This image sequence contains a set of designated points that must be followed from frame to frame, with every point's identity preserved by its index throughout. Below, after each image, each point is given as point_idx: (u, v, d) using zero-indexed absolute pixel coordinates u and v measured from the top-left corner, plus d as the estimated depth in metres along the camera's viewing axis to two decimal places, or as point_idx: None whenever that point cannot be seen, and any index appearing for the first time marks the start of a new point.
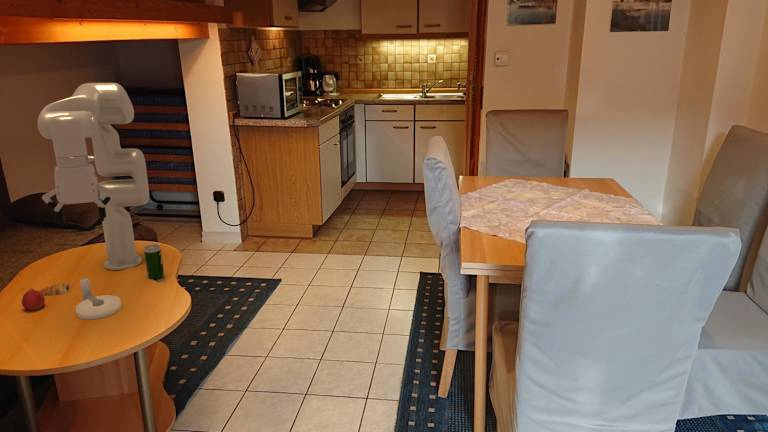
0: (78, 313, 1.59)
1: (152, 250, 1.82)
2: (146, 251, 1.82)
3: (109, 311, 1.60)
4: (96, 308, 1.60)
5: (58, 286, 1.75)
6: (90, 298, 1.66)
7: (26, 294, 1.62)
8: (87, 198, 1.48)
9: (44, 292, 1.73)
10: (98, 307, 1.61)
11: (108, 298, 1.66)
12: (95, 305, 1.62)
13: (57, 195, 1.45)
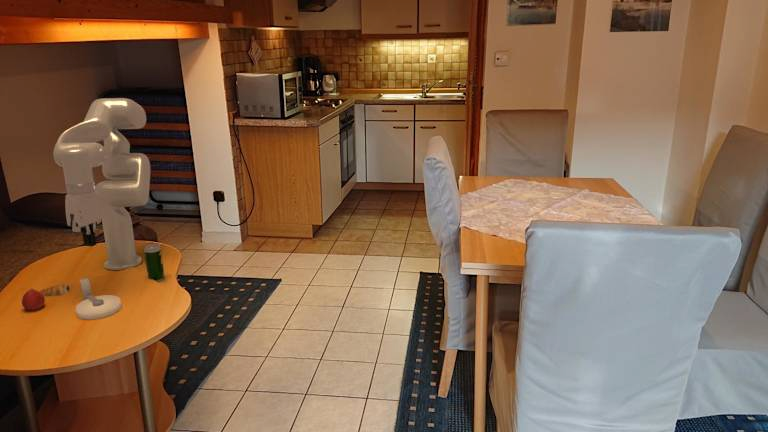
0: (78, 313, 1.59)
1: (152, 250, 1.82)
2: (146, 251, 1.82)
3: (109, 311, 1.60)
4: (96, 308, 1.60)
5: (58, 287, 1.74)
6: (90, 298, 1.66)
7: (26, 294, 1.62)
8: (97, 218, 1.69)
9: (44, 293, 1.72)
10: (98, 307, 1.61)
11: (108, 298, 1.66)
12: (95, 305, 1.62)
13: (79, 219, 1.62)
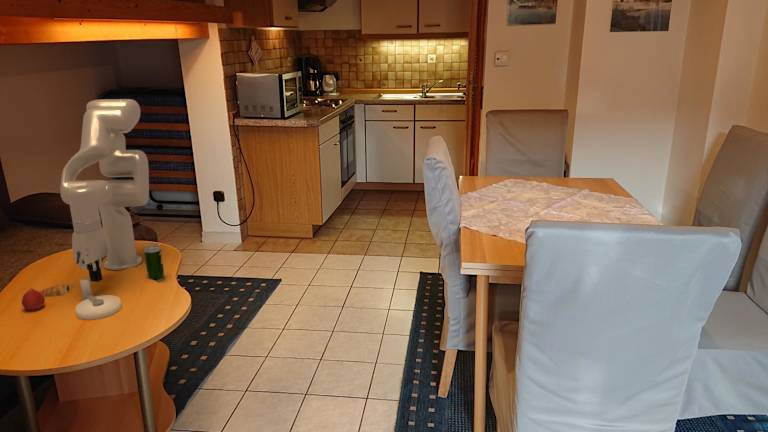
0: (78, 313, 1.59)
1: (152, 250, 1.82)
2: (146, 251, 1.82)
3: (109, 311, 1.60)
4: (96, 308, 1.60)
5: (58, 287, 1.74)
6: (90, 298, 1.66)
7: (26, 294, 1.62)
8: (103, 254, 1.72)
9: (44, 293, 1.72)
10: (98, 307, 1.61)
11: (108, 298, 1.66)
12: (95, 305, 1.62)
13: (85, 257, 1.65)
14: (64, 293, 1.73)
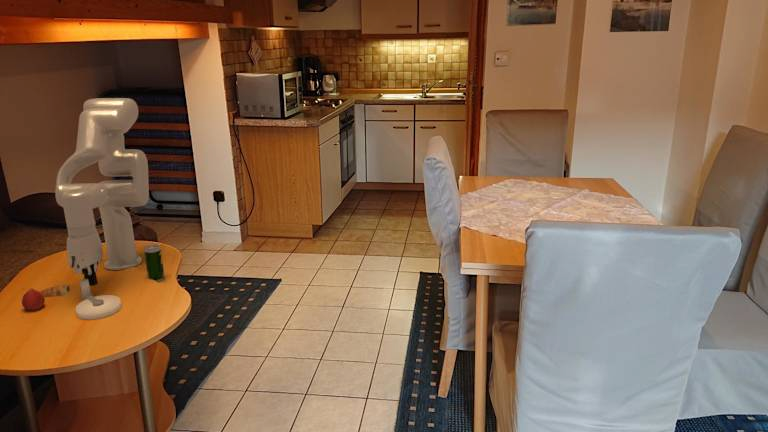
0: (78, 313, 1.59)
1: (152, 250, 1.82)
2: (146, 251, 1.82)
3: (109, 310, 1.60)
4: (96, 308, 1.60)
5: (59, 287, 1.74)
6: (90, 298, 1.66)
7: (26, 294, 1.62)
8: (98, 258, 1.71)
9: (45, 293, 1.72)
10: (98, 307, 1.61)
11: (108, 298, 1.66)
12: (95, 305, 1.62)
13: (80, 261, 1.64)
14: (64, 293, 1.73)
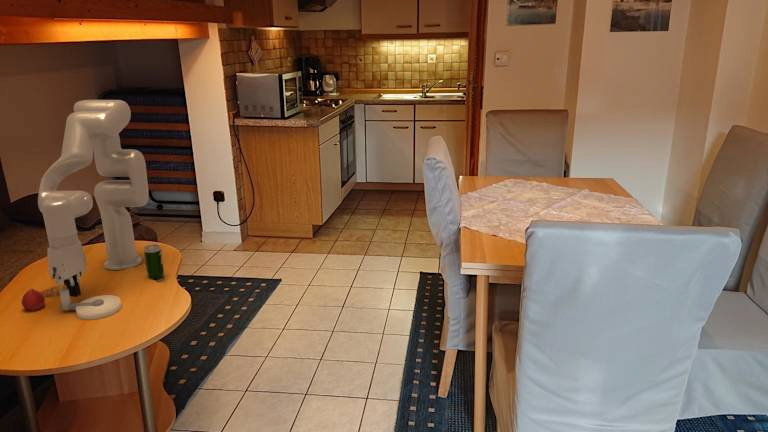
0: (93, 315, 1.58)
1: (152, 250, 1.82)
2: (146, 251, 1.82)
3: (120, 303, 1.65)
4: (106, 306, 1.62)
5: (59, 287, 1.74)
6: (79, 304, 1.62)
7: (26, 294, 1.62)
8: (81, 268, 1.64)
9: (45, 294, 1.72)
10: (106, 305, 1.62)
11: (97, 298, 1.66)
12: (100, 304, 1.62)
13: (62, 273, 1.57)
14: None
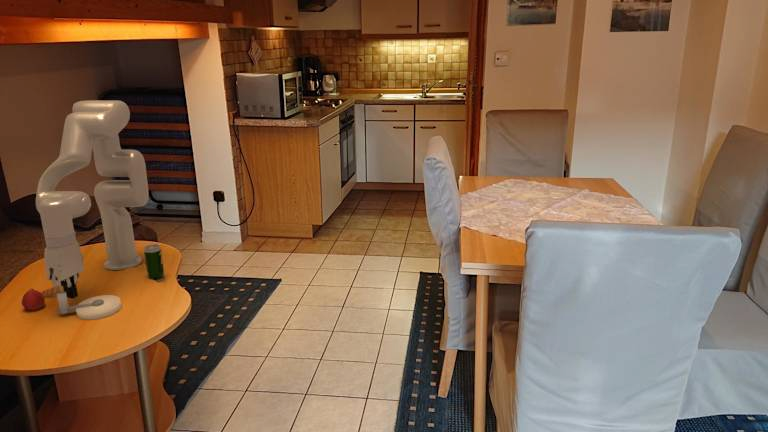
0: (99, 314, 1.58)
1: (152, 250, 1.82)
2: (146, 251, 1.82)
3: (120, 301, 1.66)
4: (108, 304, 1.63)
5: (59, 288, 1.73)
6: (79, 306, 1.61)
7: (26, 294, 1.62)
8: (79, 269, 1.63)
9: (45, 294, 1.71)
10: (107, 303, 1.63)
11: (94, 299, 1.66)
12: (101, 304, 1.62)
13: (59, 273, 1.56)
14: None
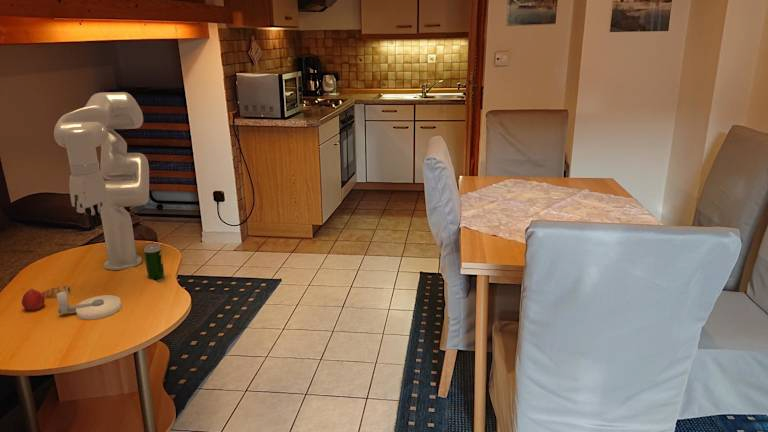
0: (99, 314, 1.58)
1: (152, 250, 1.82)
2: (146, 251, 1.82)
3: (120, 301, 1.66)
4: (108, 304, 1.63)
5: (59, 288, 1.73)
6: (79, 306, 1.61)
7: (26, 294, 1.62)
8: (102, 198, 1.68)
9: (45, 295, 1.71)
10: (107, 303, 1.63)
11: (94, 299, 1.66)
12: (101, 304, 1.62)
13: (83, 200, 1.61)
14: None
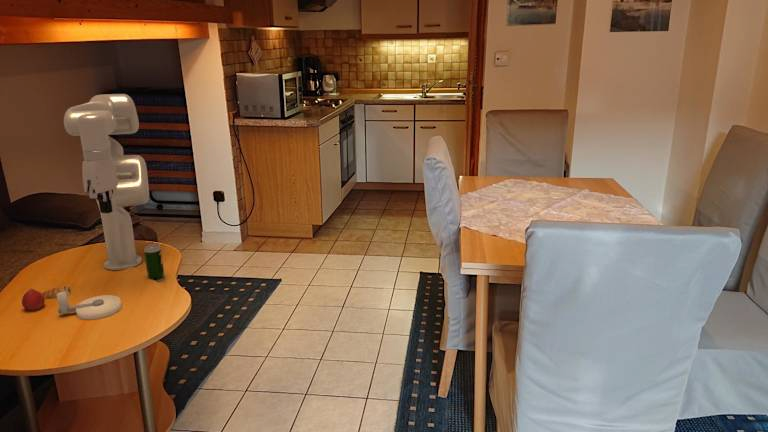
0: (99, 314, 1.58)
1: (152, 250, 1.82)
2: (146, 251, 1.82)
3: (120, 301, 1.66)
4: (108, 304, 1.63)
5: (60, 289, 1.73)
6: (79, 306, 1.61)
7: (26, 294, 1.62)
8: (113, 185, 1.70)
9: (46, 295, 1.71)
10: (107, 303, 1.63)
11: (94, 299, 1.66)
12: (101, 304, 1.62)
13: (96, 186, 1.63)
14: None
